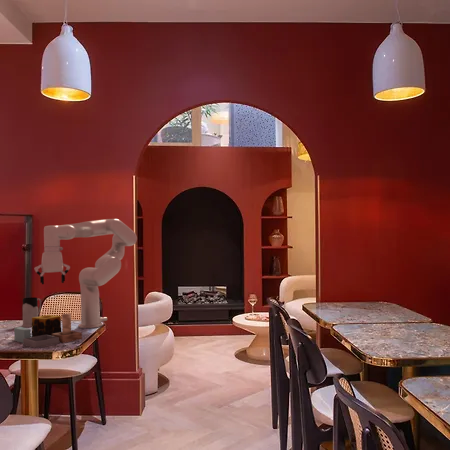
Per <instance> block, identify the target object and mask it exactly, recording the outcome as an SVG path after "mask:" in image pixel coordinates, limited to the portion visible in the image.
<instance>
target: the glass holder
mask: <svg viewBox="0 0 450 450" xmlns="http://www.w3.org/2000/svg"><path fill="white" fill-rule="evenodd" d="M38 301H39V303H38ZM38 304H39V307H38ZM41 308H42V300H41V299H40V298H38V297H23V298H22V325H21V327H23V328H32V318H33V317H39V314H40V312H41Z"/></svg>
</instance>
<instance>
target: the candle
mask: <svg viewBox="0 0 450 450" xmlns="http://www.w3.org/2000/svg"><path fill="white" fill-rule="evenodd" d="M59 332H62V315H54V314H46V315H40V316H39V315H38V317H33V318H32V327H31V337H36V336H41V335H51V336H52V334H53V333H59Z"/></svg>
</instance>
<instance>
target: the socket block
mask: <svg viewBox="0 0 450 450" xmlns="http://www.w3.org/2000/svg"><path fill="white" fill-rule="evenodd" d="M52 336H55V337H59V343H61V344H64V343H69V342H74V341H80V340H83V333H82V332H80V331H75V330H71V334H67V335H62V331H61V332H59V333H53V334H52Z"/></svg>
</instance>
